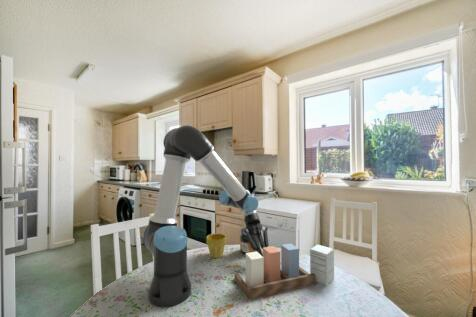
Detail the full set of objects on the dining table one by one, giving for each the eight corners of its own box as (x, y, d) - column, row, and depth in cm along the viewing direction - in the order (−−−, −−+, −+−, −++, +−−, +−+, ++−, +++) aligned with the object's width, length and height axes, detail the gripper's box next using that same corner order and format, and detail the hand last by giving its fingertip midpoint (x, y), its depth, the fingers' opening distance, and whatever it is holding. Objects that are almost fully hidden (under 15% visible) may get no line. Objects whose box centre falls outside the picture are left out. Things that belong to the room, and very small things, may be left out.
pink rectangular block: (269, 283, 87) (269, 253, 87) (262, 275, 92) (262, 247, 92) (280, 281, 88) (280, 251, 88) (273, 273, 94) (273, 246, 94)
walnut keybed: (248, 300, 76) (248, 289, 76) (234, 279, 90) (234, 269, 90) (315, 284, 86) (315, 274, 86) (294, 267, 100) (294, 259, 100)
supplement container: (242, 257, 111) (242, 233, 111) (237, 249, 121) (237, 227, 121) (262, 255, 113) (262, 232, 114) (255, 247, 124) (255, 226, 124)
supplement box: (317, 272, 96) (317, 243, 96) (334, 279, 90) (334, 248, 91) (309, 279, 91) (309, 248, 91) (327, 286, 85) (327, 254, 85)
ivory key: (251, 291, 81) (251, 259, 81) (245, 283, 87) (245, 253, 87) (263, 289, 83) (263, 257, 83) (256, 281, 88) (256, 251, 88)
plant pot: (202, 256, 112) (202, 237, 112) (215, 249, 120) (215, 232, 120) (217, 261, 106) (217, 241, 106) (230, 254, 114) (230, 235, 114)
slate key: (288, 279, 90) (288, 250, 90) (281, 272, 95) (281, 244, 95) (299, 277, 91) (299, 248, 92) (291, 270, 97) (291, 243, 97)
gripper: (260, 219, 116) (276, 265, 100) (237, 222, 111) (250, 270, 96) (264, 212, 111) (282, 258, 95) (241, 214, 107) (255, 263, 91)
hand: (266, 264), depth 96 cm, fingers closed
